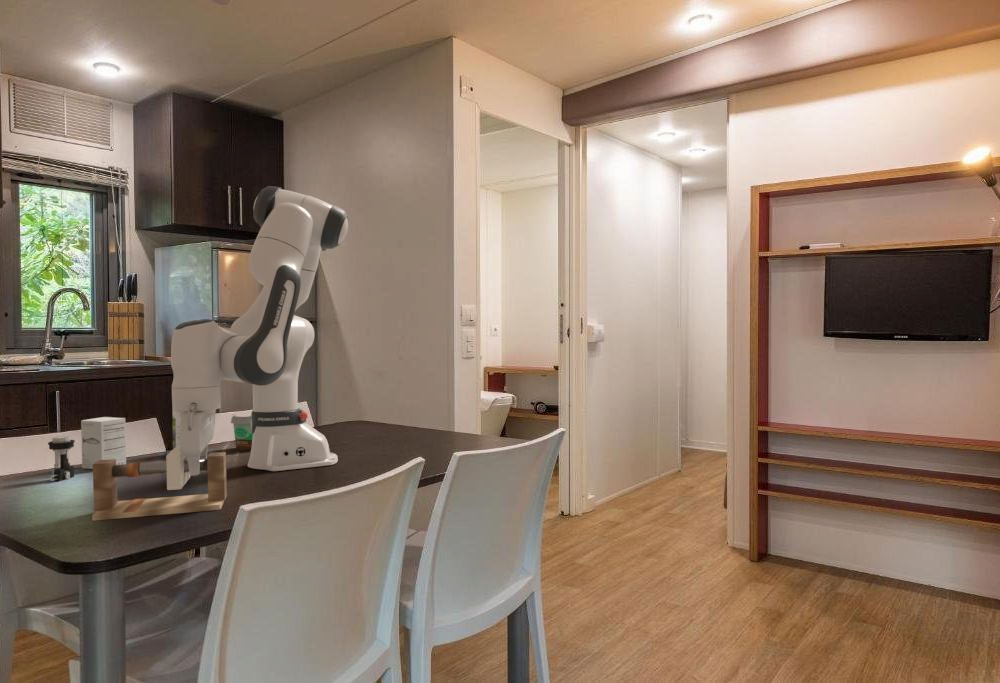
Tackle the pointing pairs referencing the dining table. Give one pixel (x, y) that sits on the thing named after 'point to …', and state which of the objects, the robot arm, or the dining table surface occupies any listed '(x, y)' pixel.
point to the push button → (61, 458)
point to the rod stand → (113, 509)
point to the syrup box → (176, 428)
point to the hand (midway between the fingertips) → (198, 469)
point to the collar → (176, 469)
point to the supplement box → (103, 440)
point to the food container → (242, 432)
